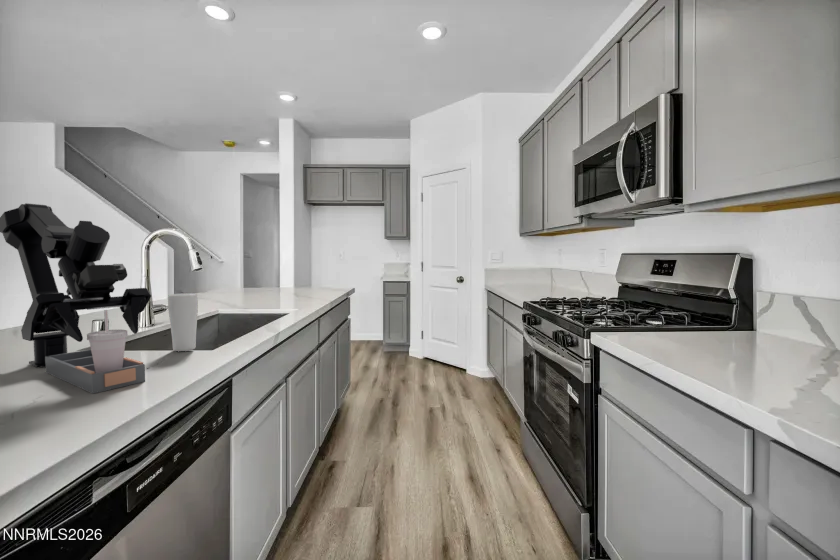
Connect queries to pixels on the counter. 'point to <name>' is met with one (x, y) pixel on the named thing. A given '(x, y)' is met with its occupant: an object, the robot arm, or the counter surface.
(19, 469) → the counter surface
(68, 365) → the bottle caddy
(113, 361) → the smoothie
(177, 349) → the drinking glass
